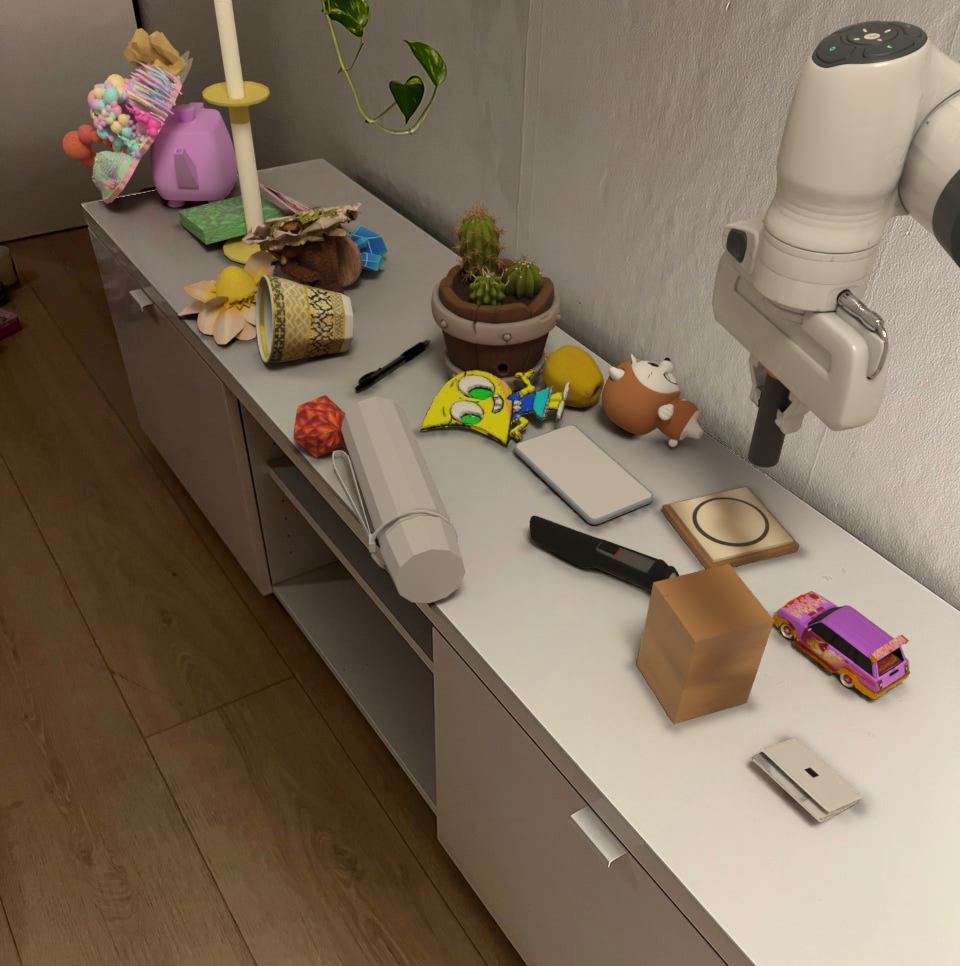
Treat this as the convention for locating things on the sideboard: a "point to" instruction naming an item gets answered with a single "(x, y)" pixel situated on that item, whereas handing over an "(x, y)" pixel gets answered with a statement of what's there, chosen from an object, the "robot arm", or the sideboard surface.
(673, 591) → the brown block
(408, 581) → the water bottle
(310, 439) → the decorative stone
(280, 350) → the ceramic cup
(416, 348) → the pen
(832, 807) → the laptop
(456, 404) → the toy
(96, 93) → the candy platter
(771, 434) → the marker
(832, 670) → the toy car
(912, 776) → the sideboard surface
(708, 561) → the ringed wooden coaster
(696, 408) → the figurine
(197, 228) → the green jade tablet
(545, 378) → the apple
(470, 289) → the flowerpot
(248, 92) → the candle
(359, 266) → the gemstone
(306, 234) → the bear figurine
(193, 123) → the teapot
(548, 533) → the electric trimmer
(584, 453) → the smartphone
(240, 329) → the decorative flower
